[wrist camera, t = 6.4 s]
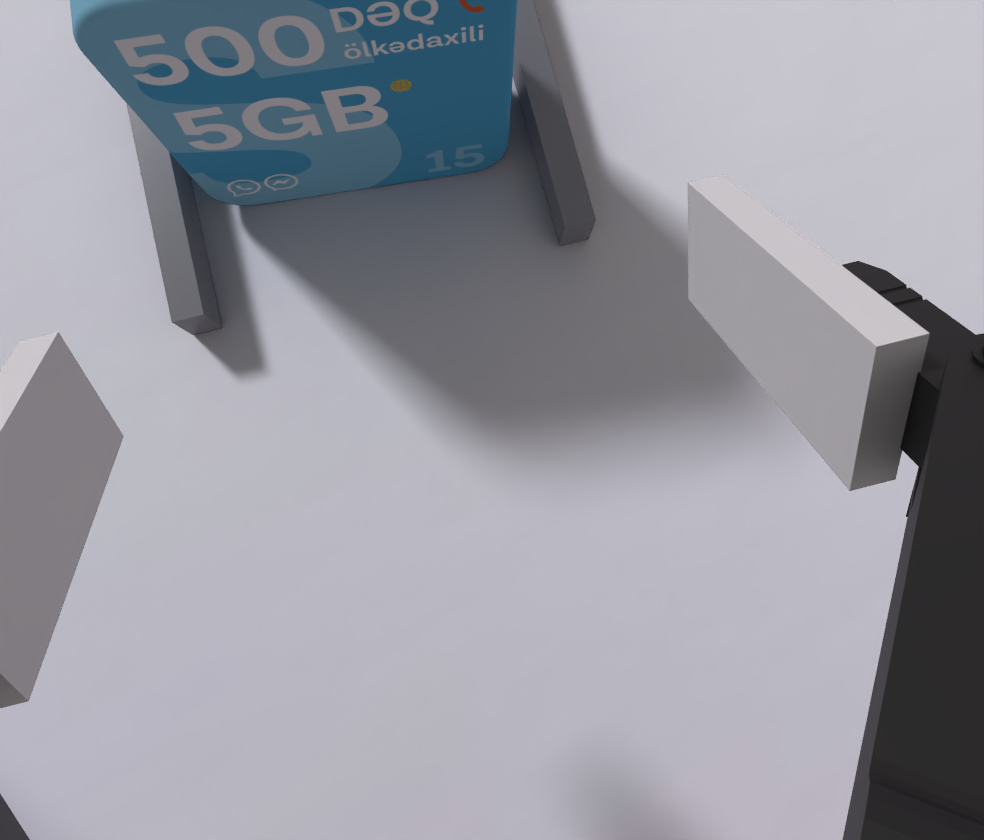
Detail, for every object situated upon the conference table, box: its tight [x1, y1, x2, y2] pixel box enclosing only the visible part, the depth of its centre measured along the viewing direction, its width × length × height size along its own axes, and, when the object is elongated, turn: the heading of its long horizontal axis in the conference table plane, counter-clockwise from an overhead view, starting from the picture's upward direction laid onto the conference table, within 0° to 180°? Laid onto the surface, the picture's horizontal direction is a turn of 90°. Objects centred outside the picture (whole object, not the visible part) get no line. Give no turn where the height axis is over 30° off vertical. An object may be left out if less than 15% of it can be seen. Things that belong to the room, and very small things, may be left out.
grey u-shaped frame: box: [127, 0, 595, 335], centre depth 30 cm, size 16×17×2 cm
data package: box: [70, 0, 517, 205], centre depth 25 cm, size 12×4×12 cm, turn 99°
